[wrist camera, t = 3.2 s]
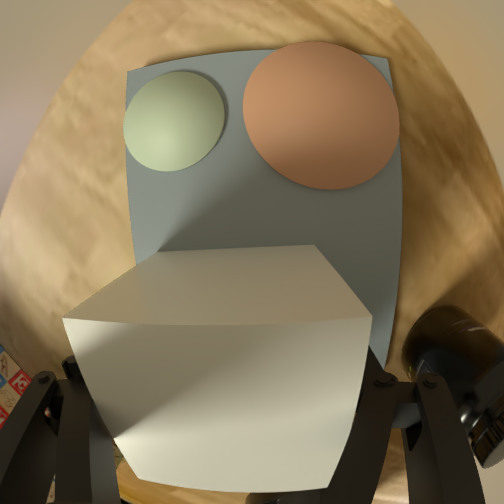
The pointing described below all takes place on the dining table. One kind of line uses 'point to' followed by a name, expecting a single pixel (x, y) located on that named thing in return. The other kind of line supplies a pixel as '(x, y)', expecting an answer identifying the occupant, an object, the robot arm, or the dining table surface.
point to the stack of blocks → (9, 392)
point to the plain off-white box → (226, 366)
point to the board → (272, 162)
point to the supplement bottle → (463, 373)
